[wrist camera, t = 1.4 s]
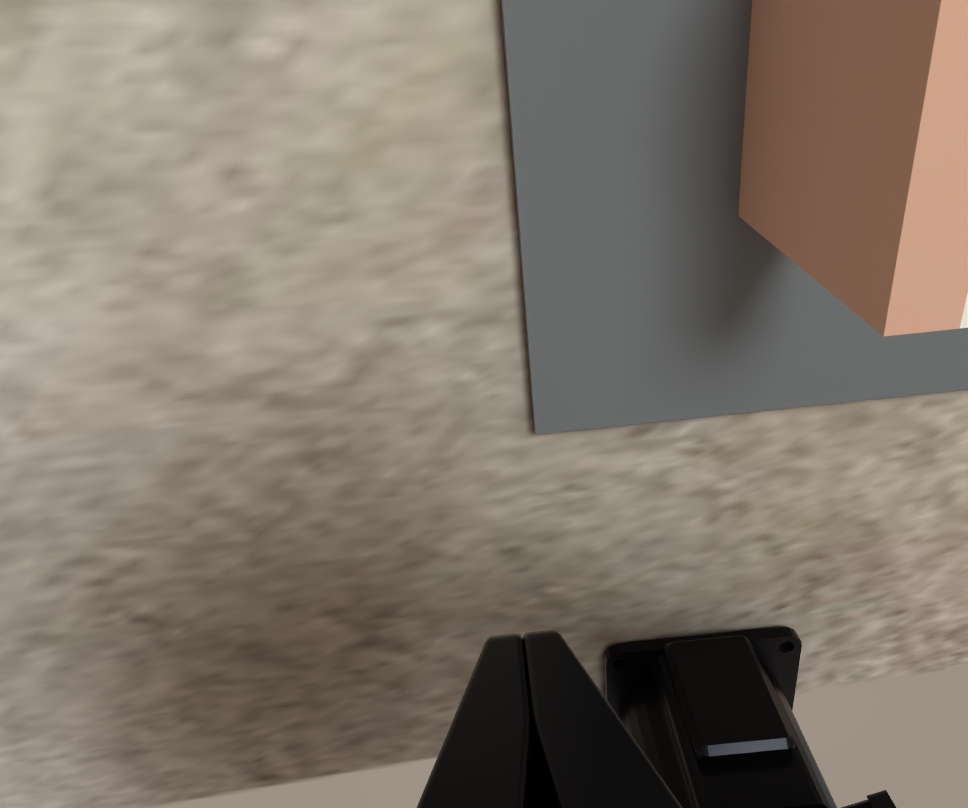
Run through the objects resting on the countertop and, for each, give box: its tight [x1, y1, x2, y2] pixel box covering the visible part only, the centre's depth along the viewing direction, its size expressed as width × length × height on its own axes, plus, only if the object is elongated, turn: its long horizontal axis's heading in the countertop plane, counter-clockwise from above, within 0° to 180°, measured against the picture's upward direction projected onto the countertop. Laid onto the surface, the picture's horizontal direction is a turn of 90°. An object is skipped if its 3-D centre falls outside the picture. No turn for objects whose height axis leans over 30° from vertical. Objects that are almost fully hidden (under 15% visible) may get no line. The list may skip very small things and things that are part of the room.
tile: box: [738, 0, 968, 336], centre depth 13 cm, size 7×2×7 cm, turn 6°
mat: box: [501, 0, 968, 435], centre depth 17 cm, size 18×18×1 cm
